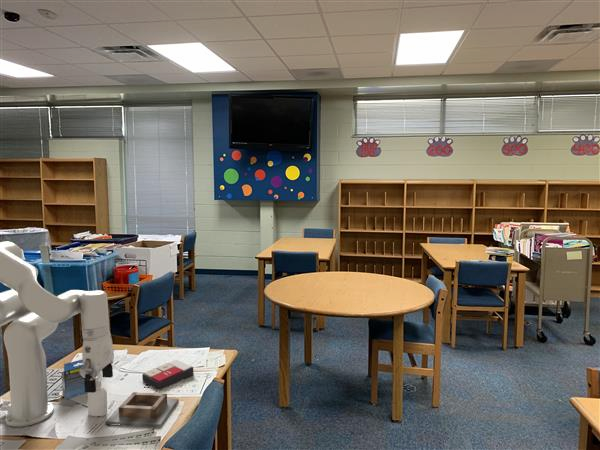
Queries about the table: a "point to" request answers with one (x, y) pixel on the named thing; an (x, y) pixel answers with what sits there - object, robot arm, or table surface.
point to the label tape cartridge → (72, 380)
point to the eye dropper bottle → (97, 400)
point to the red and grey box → (168, 374)
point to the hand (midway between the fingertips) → (99, 384)
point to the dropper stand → (143, 410)
